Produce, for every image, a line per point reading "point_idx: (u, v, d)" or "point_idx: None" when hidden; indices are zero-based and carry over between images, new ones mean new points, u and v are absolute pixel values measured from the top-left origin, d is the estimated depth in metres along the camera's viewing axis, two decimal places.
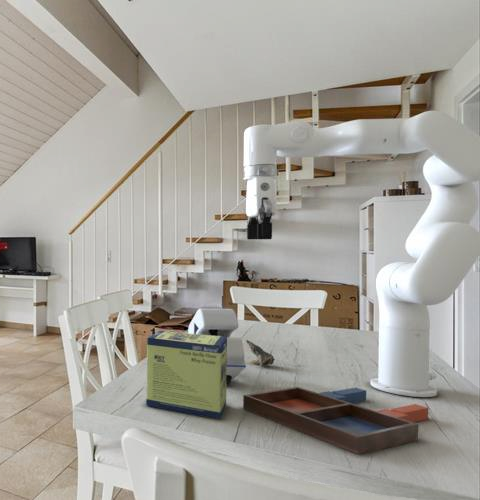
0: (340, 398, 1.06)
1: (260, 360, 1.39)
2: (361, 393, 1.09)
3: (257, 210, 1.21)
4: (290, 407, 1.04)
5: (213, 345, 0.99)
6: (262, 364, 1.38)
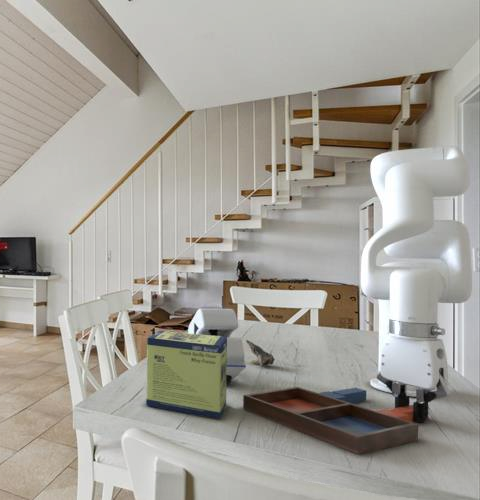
0: (340, 398, 1.06)
1: (260, 360, 1.39)
2: (361, 393, 1.09)
3: (434, 384, 0.94)
4: (290, 407, 1.04)
5: (213, 345, 0.99)
6: (262, 364, 1.38)
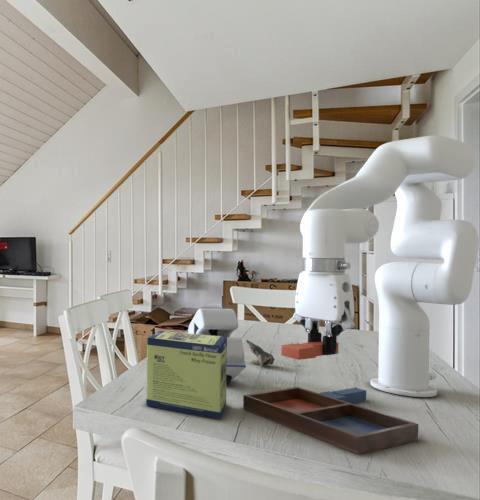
0: (340, 398, 1.06)
1: (260, 360, 1.39)
2: (361, 393, 1.09)
3: (340, 316, 0.97)
4: (290, 407, 1.04)
5: (213, 345, 0.99)
6: (262, 364, 1.38)
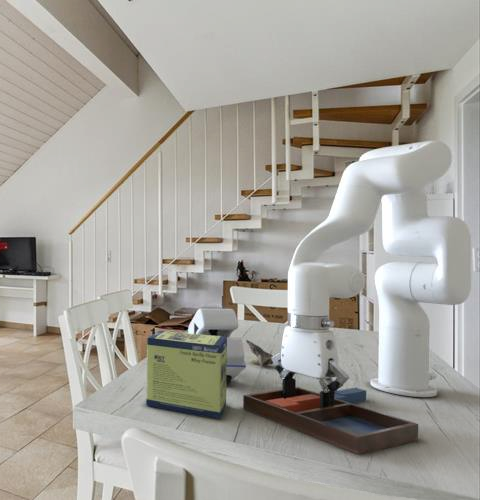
0: (340, 398, 1.06)
1: (260, 360, 1.39)
2: (361, 393, 1.09)
3: (324, 374, 0.98)
4: None
5: (213, 345, 0.99)
6: (262, 364, 1.38)
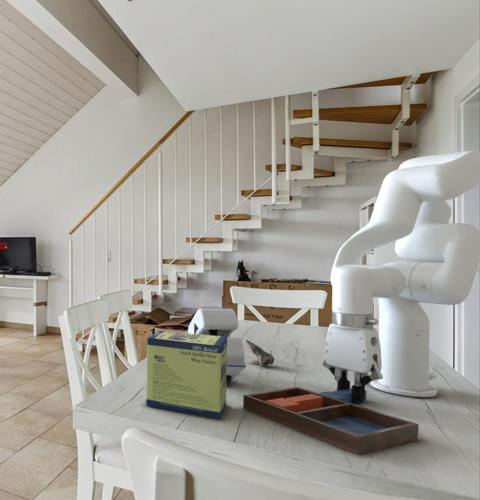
0: (340, 398, 1.06)
1: (260, 360, 1.39)
2: None
3: (368, 369, 1.05)
4: None
5: (213, 345, 0.99)
6: (262, 364, 1.38)
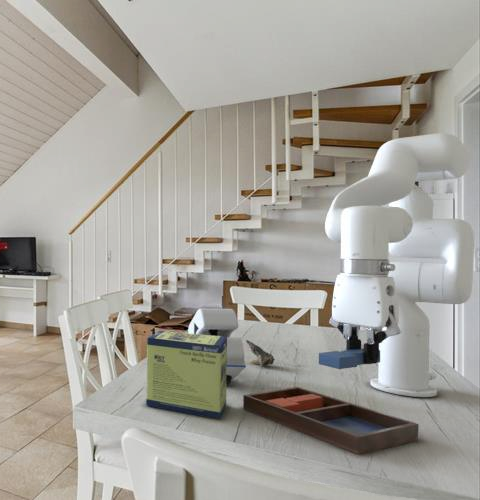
0: (350, 357, 0.90)
1: (260, 360, 1.39)
2: None
3: (384, 322, 0.89)
4: None
5: (213, 345, 0.99)
6: (262, 364, 1.38)
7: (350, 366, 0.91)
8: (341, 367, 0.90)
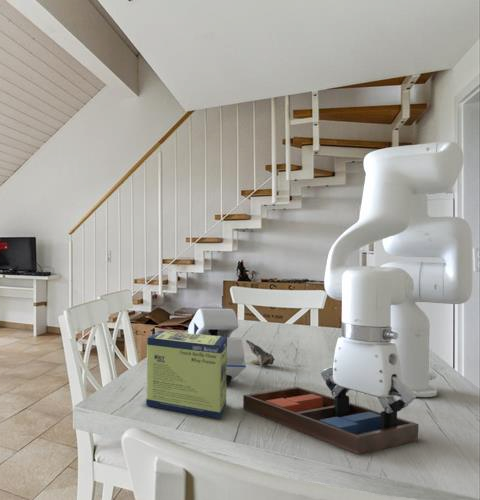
0: (351, 426, 0.88)
1: (260, 360, 1.39)
2: (376, 419, 0.92)
3: (386, 392, 0.87)
4: None
5: (213, 345, 0.99)
6: (262, 364, 1.38)
7: None
8: None
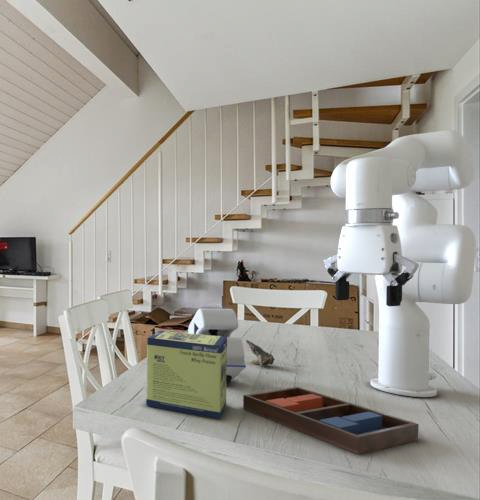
0: (351, 426, 0.88)
1: (260, 360, 1.39)
2: (376, 419, 0.92)
3: (388, 268, 0.92)
4: None
5: (213, 345, 0.99)
6: (262, 364, 1.38)
7: None
8: None
